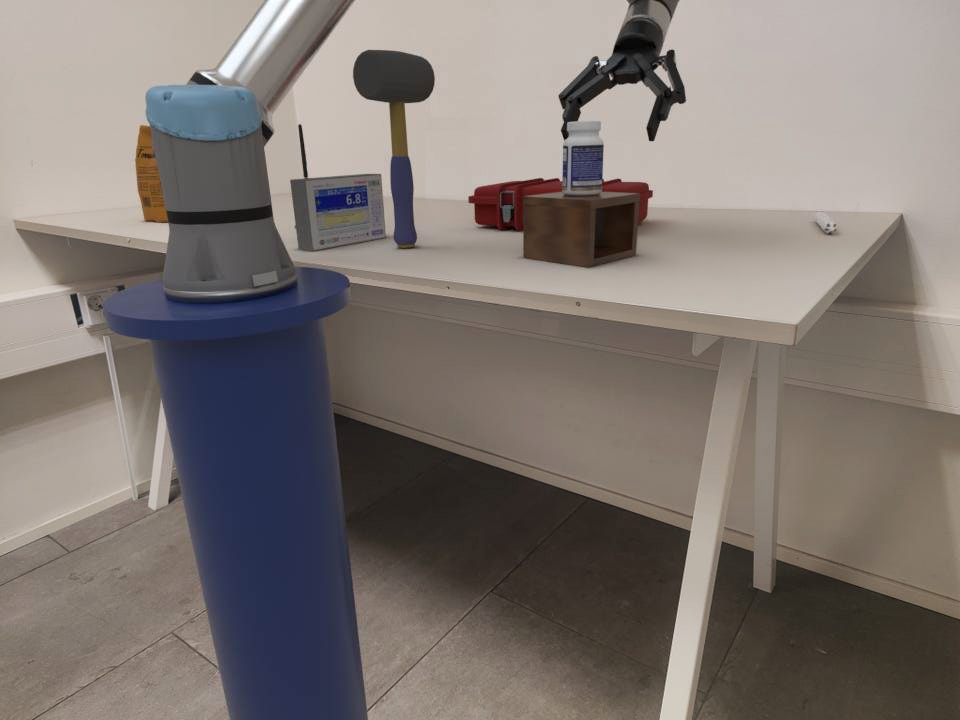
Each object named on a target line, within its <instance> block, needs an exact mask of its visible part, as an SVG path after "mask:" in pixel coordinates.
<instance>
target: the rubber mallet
mask: <svg viewBox="0 0 960 720" xmlns="http://www.w3.org/2000/svg"><path fill="white" fill-rule="evenodd" d="M352 79H353V85H354V86H355V89H356V91H357V93H358V94H359V95H360V96H361V97H362V98H364V99H366V100H369V101H375V102H380V103H387V104H388V107H389V108H388V109H389V121H390V122H389V124H390V140H391V142H390V143H391V158H390V165H389V166H390V168H389V171H390V172H389V173H390V174H389V177H390V178H389V179H390V180H389V181H390V193H391V197H392V202H393V203H392V204H393V216H394V230H393V240H394V242H395V244H396V247H398V248H401V249H410V248H413V247H415V245H416V243H417V240H418V234H417V230H416V227H415V226H416V225H415V215H414V187H415V186H414V176H413V169H412V162H411V159H410V157H409V146H408V133H407V120H406V119H407V118H406V106H405V105H406V104H416V103H417V104H418V103H422V102H425V101H426V100H427V99H429V98H430V96H431V95H432V93H433V92H434V87H435V83H436V82H435V81H436V77H435V71H434V69H433V66H432V64H431V63H430V62H429V61H428V60H427V58H425V57H424V56H421V55H416V54H413V53H409V52H408V53H407V52H405V51H400V50H388V49H367V50H364V51H361V52H360V53H359V55H358V56H357V57H356V60H355V61H354V64H353V68H352Z"/></svg>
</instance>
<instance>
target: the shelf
mask: <svg viewBox="0 0 960 720" xmlns="http://www.w3.org/2000/svg"><path fill="white" fill-rule="evenodd" d="M639 198H640V194H639V193H619V192H601V193H600V194H599V195H591V196H568V195H564V194H563V192H555V193H547V194H538V195H530V196H524V197H523V204H524V205H523V230H522V232H523V233H522V235H523V238H522V239H523V240H522V241H523V242H522V245H523V248H522V250H523V251H522V254H523V255H522V257H523V258H524V259H529V260H536V261H542V262H549V263H550V262H551V263H556V264H564V265H570V266H575V267H577V266H578V267H583V268H591V267H595V266H596V267H597V266H599V265H603V264H607V263H612V262H614V261H615V262H616V261H620V260H623V259H628V258H630V257H634V256H636V255H637V246H638V229H639V223H638V214H639Z"/></svg>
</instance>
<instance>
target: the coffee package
mask: <svg viewBox="0 0 960 720" xmlns="http://www.w3.org/2000/svg"><path fill="white" fill-rule="evenodd" d="M134 161H135V174H136V175H135V176H136V186H137V187H136V188H137V193H138V196H139V201H140V204H141V210H142V215H143V220H144V222H156V223H168V218H167V213H166V208H165V203H164V198H163V192H162V187H161V182H160V177H159V171H158V166H157V162H156V160H155V155H154V152H153V149H152V134H151V129H150V125H144V124H140V125H139V130H138V135H137V144H136V149H135V159H134Z"/></svg>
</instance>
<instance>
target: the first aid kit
mask: <svg viewBox="0 0 960 720" xmlns="http://www.w3.org/2000/svg"><path fill="white" fill-rule="evenodd" d="M555 192H562V180H561V179H560V178H559V177H555V178H554V177H553V178H550V179H544V178H543V177H538V178H532V179H526V180H512V181H506V182H498V183H493V184H488V185H487V184H486V185H481V186H477V187H476V188H475V189H474V191H473V195H470V196H467V197H468V201H467V202H468V204H472V205H473V208H474V222H475V223H476V224H477V225H479V226H487V227H488V226H491V227H497V229H498V230H499V231H505V230H507V229H511V228H514V230H515V231H516V232H517V231H518V232H521V231H523V205H524V204H523V197H524V196H530V195H538V194H547V193H555ZM602 192H619V193H639V194H640V198H639V214H638V224H640V223H641V222H644V221H645V220H646V219H647V216H648V211H649V199H652V198H653V196H654V190H652V189H650V185H649V184H648V183H647V182H644V181H643V182H642V181H622V179H621V178H614V179H609V180H605V179H604V178H602Z"/></svg>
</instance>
